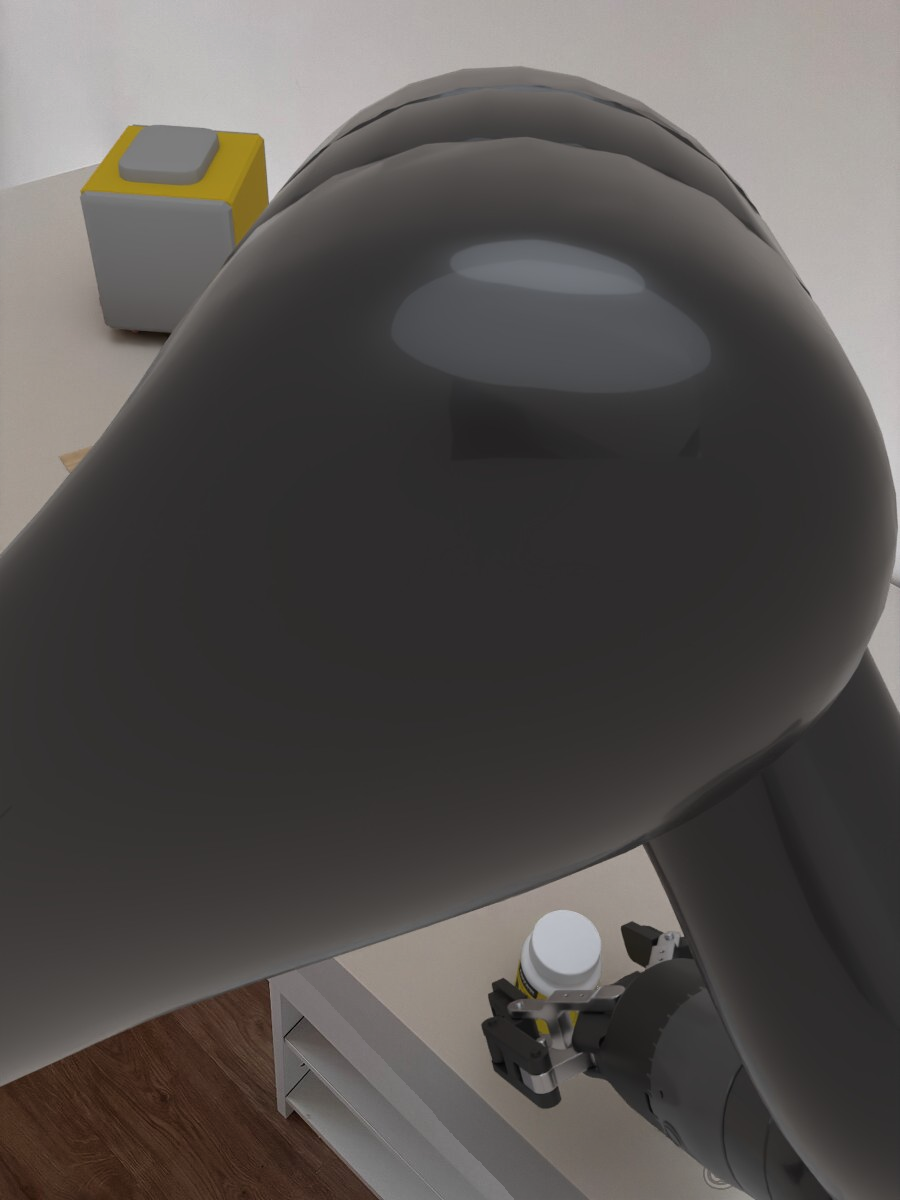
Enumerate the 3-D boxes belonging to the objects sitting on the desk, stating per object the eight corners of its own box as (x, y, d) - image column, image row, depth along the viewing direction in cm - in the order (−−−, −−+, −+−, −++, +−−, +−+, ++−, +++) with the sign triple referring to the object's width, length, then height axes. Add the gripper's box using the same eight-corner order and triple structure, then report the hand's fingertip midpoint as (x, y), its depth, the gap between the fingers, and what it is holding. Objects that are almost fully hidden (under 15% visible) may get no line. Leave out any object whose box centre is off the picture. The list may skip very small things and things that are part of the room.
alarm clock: (148, 262, 131) (123, 107, 118) (275, 271, 130) (264, 117, 118) (101, 345, 117) (66, 180, 104) (244, 356, 116) (227, 191, 103)
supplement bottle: (495, 1008, 65) (507, 942, 59) (541, 954, 68) (556, 886, 62) (558, 1060, 63) (576, 997, 57) (602, 1003, 66) (624, 937, 60)
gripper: (836, 929, 48) (652, 861, 63) (564, 1060, 43) (436, 953, 58) (877, 1084, 48) (684, 980, 64) (613, 1230, 44) (472, 1080, 59)
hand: (565, 967), depth 61 cm, fingers open, 8 cm apart
